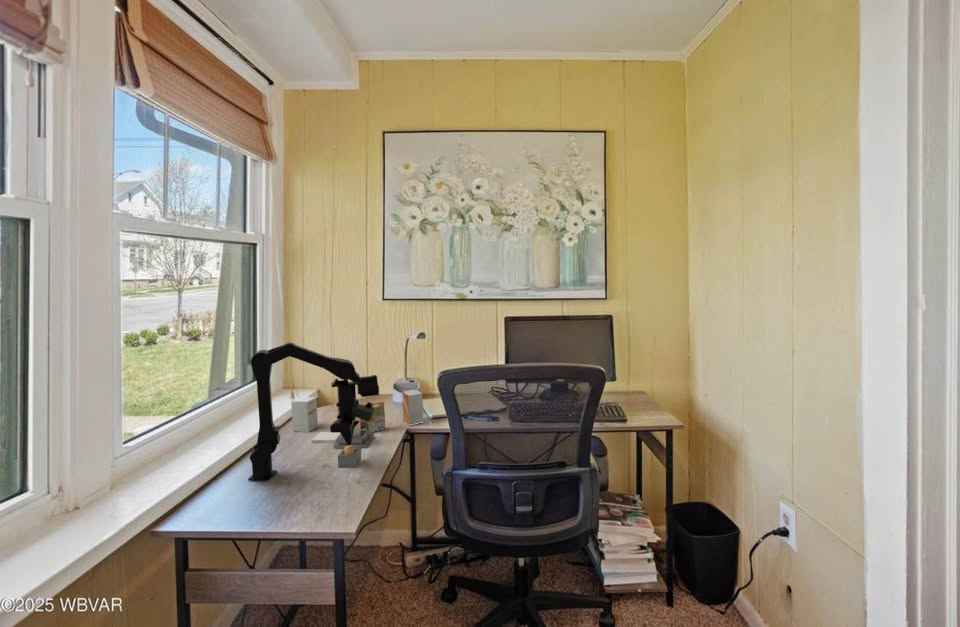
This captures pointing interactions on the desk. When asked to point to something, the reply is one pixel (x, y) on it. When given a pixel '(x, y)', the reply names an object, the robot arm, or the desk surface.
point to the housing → (356, 440)
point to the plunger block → (349, 458)
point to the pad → (325, 437)
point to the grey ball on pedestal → (357, 429)
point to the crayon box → (377, 419)
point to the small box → (412, 406)
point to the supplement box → (304, 414)
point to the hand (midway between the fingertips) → (349, 444)
